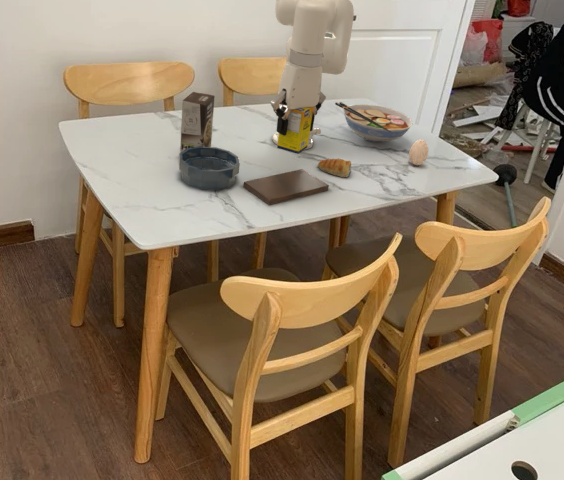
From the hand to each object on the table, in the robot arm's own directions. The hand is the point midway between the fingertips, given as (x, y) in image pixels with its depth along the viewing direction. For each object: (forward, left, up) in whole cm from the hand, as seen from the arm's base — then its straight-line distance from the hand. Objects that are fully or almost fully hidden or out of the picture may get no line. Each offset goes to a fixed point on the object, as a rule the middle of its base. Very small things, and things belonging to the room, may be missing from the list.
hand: (294, 131), depth 150 cm
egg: (-49, +3, -16) cm, 51 cm away
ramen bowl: (-52, -18, -16) cm, 57 cm away
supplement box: (0, 0, -5) cm, 5 cm away
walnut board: (0, 0, -16) cm, 16 cm away
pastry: (-21, -3, -16) cm, 26 cm away
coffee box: (+10, -28, -16) cm, 33 cm away
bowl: (+15, -14, -16) cm, 26 cm away
